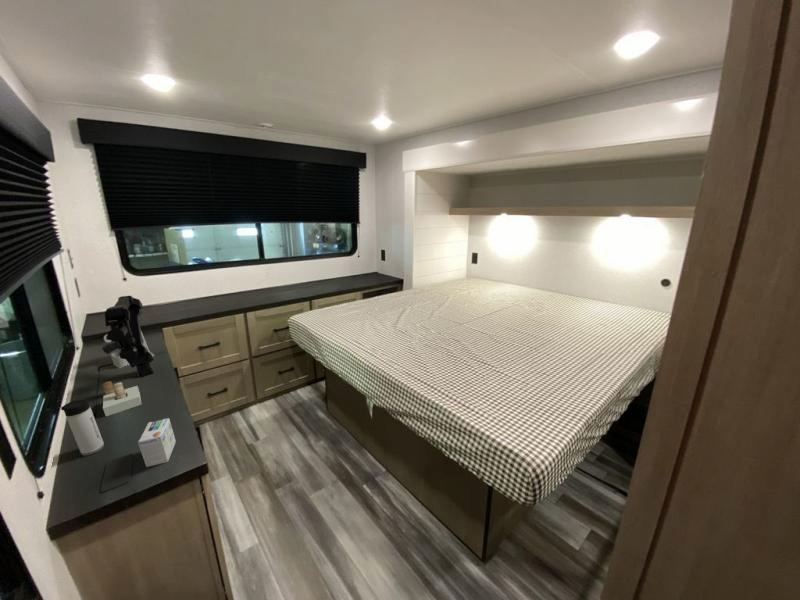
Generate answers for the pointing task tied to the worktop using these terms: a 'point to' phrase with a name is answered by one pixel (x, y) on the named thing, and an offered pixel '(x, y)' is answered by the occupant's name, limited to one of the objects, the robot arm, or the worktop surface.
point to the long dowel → (119, 390)
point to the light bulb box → (157, 442)
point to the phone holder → (116, 358)
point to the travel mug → (83, 426)
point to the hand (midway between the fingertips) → (132, 363)
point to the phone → (117, 473)
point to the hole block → (121, 401)
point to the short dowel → (108, 387)
